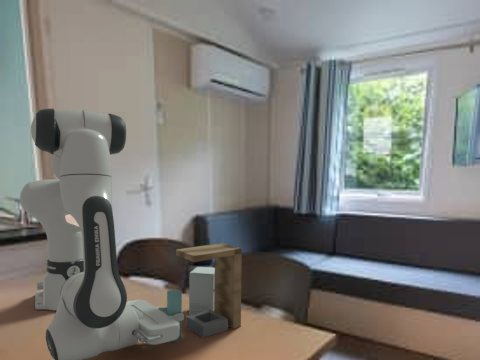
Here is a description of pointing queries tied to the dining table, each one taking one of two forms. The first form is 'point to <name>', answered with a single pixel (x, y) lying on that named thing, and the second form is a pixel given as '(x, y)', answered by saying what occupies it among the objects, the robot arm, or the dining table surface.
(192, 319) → the socket
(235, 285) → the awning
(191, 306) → the supplement box
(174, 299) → the peg
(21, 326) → the dining table surface
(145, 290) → the dining table surface
